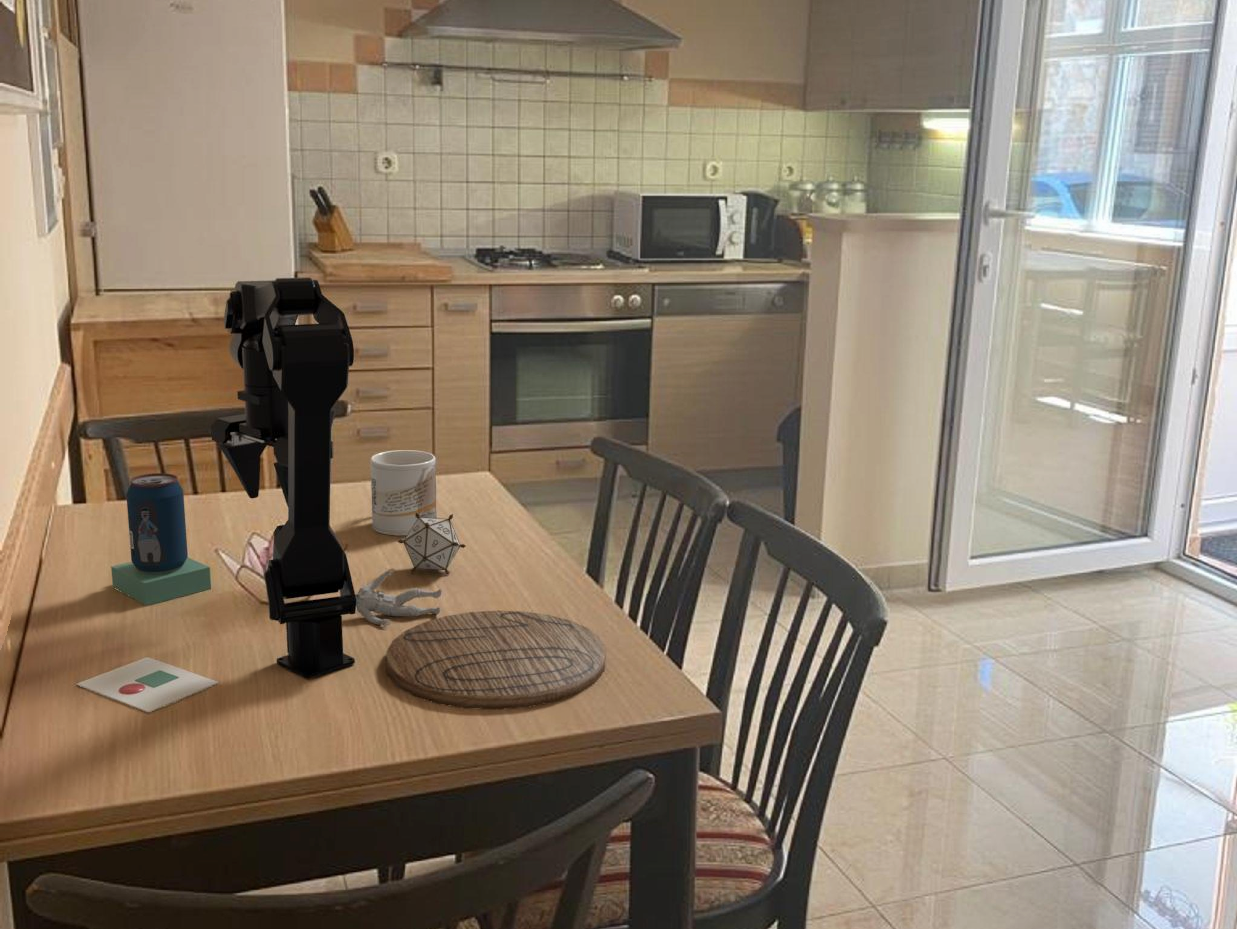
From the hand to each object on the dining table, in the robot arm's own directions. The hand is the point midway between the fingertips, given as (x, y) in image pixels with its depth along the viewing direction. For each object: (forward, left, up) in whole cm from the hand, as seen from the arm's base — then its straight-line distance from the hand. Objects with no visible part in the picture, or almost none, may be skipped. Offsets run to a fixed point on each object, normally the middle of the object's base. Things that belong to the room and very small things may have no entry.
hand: (273, 505), depth 158 cm
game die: (-4, -22, -13) cm, 26 cm away
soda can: (+15, +8, -10) cm, 20 cm away
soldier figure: (-14, -8, -13) cm, 21 cm away
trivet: (-34, -7, -14) cm, 37 cm away
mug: (+16, -33, -13) cm, 39 cm away
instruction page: (-12, +24, -13) cm, 30 cm away
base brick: (+15, +8, -13) cm, 21 cm away
